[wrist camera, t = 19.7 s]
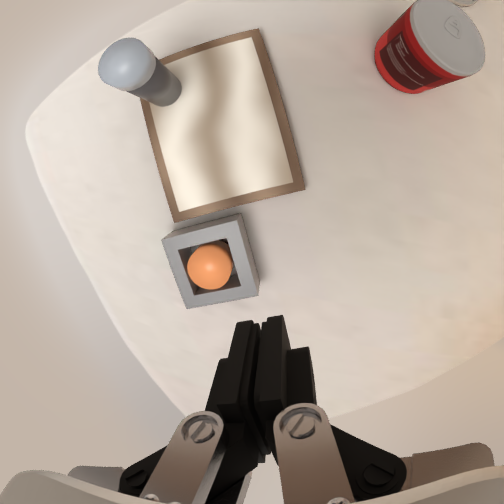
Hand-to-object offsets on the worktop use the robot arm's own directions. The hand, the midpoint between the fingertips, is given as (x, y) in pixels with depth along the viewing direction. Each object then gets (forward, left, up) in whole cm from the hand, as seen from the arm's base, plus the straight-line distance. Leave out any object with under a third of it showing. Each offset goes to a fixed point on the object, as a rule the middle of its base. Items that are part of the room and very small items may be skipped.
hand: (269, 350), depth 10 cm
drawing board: (+3, -12, -21) cm, 24 cm away
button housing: (+7, +2, -21) cm, 22 cm away
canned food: (-19, -15, -22) cm, 32 cm away
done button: (+7, +2, -20) cm, 22 cm away
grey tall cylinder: (+7, -17, -20) cm, 27 cm away
